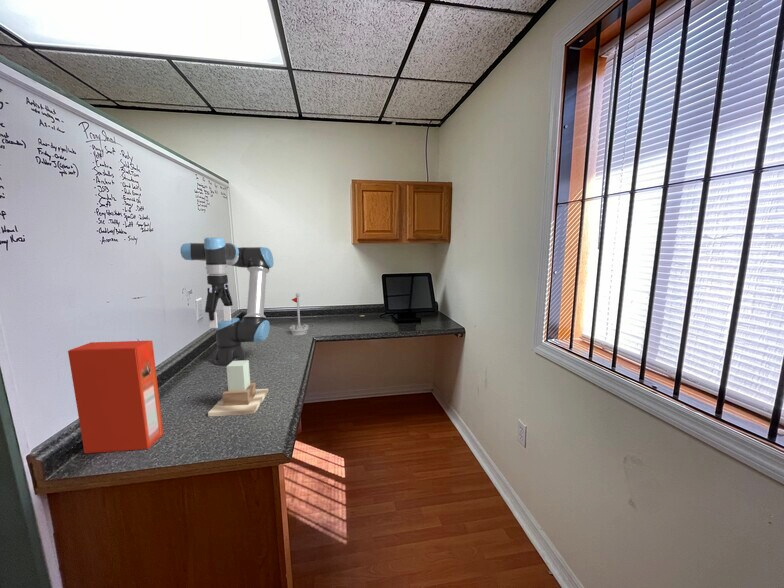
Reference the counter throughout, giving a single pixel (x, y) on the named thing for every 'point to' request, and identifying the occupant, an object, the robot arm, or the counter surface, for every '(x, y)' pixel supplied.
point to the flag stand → (298, 329)
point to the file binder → (116, 395)
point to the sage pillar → (238, 375)
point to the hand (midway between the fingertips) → (221, 324)
